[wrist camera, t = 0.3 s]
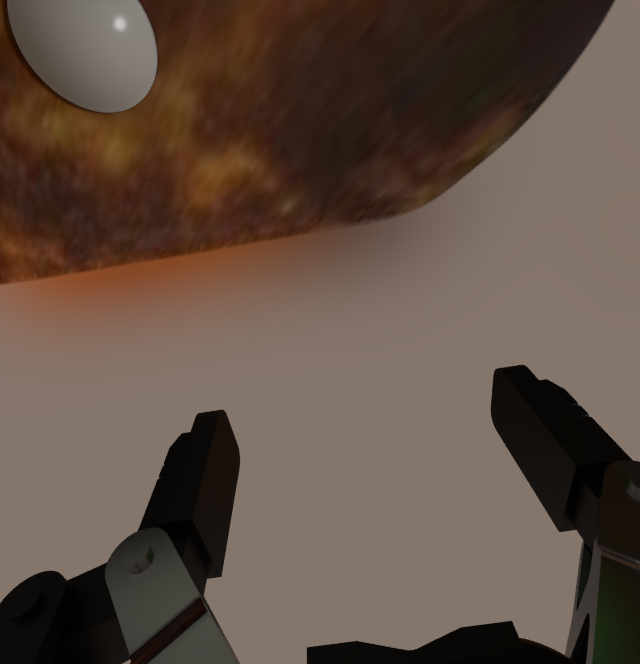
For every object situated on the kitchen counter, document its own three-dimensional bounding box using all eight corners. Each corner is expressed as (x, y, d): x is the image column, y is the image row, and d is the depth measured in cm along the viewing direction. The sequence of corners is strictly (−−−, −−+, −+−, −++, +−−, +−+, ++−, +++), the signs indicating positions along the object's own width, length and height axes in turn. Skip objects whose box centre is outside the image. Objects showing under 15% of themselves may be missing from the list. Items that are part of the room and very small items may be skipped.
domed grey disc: (-1, 57, 27) (-5, 59, 27) (26, -95, 23) (22, -96, 22) (132, 134, 32) (131, 136, 31) (177, 20, 27) (176, 21, 27)
